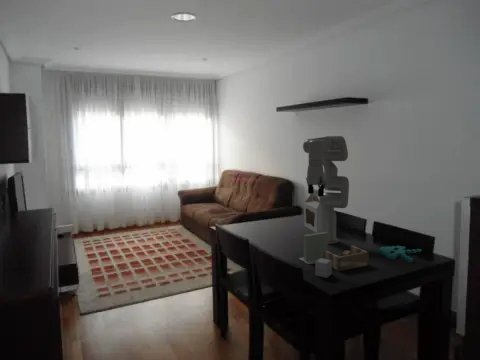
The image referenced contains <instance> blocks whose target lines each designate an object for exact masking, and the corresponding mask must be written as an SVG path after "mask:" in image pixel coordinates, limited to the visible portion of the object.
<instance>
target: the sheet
mask: <svg viewBox="0 0 480 360" xmlns="http://www.w3.org/2000/svg"><path fill="white" fill-rule="evenodd" d="M328 246H329V244H328V233H327V232H321V233H316V232H314V233H307V234H303V257H304V260H305V261H310V260H316V259H320V258H323V250H326V251H328V252H329V250H328Z"/></svg>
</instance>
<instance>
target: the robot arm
mask: <svg viewBox="0 0 480 360" xmlns="http://www.w3.org/2000/svg"><path fill="white" fill-rule="evenodd" d="M302 149H303V151H304V152H305V153H306V154H308V166H307V173H306V178H305V179H306V184H307V193H308V194H309V195H310V194H312V193H314V189H315V188H314V186H317V187H318V189H317V190H318V196H320V197H318V199H319V201H320V207H321V232H327V233H328V245H331V244H338V243H339V242H340V241H339V240H340V239H338V238H337V214H336V211H335V209H346V208H347V207H348V205H349V204H348V203H349V192H350V180H349V178H348V177H347V176H345V175H338V172H339V171H338V170H339V169H338V167H337V165H336V164H335V163H334V162H345V161H347V160H348V158H349V150H348V145H347V142H346V139H345V137H344V136H342V135H331V136H330V135H328V136H322V137H316V138H308V139H305V140H304V141H303V144H302ZM325 191H328V192H325ZM333 208H334V210H333Z"/></svg>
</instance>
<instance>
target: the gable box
mask: <svg viewBox="0 0 480 360" xmlns="http://www.w3.org/2000/svg"><path fill="white" fill-rule="evenodd" d="M319 197H320V196H318V189H315V188H314V193H312V194H309V196H308V198H307V199H306V200H305V201H304V203H303V210H304V211H303V212H304V214H303V218H304V219H303V225H304V226H303V227H306V228H308V229H309V230H310V231H312V232H314V233H321V207H320V200H319ZM333 210H334V211H335V208H333Z"/></svg>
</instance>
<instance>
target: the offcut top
mask: <svg viewBox="0 0 480 360" xmlns="http://www.w3.org/2000/svg"><path fill="white" fill-rule="evenodd" d="M350 251H351V250H344V251H343V252H342V253H341V254H342V256H346V255H350Z"/></svg>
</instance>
